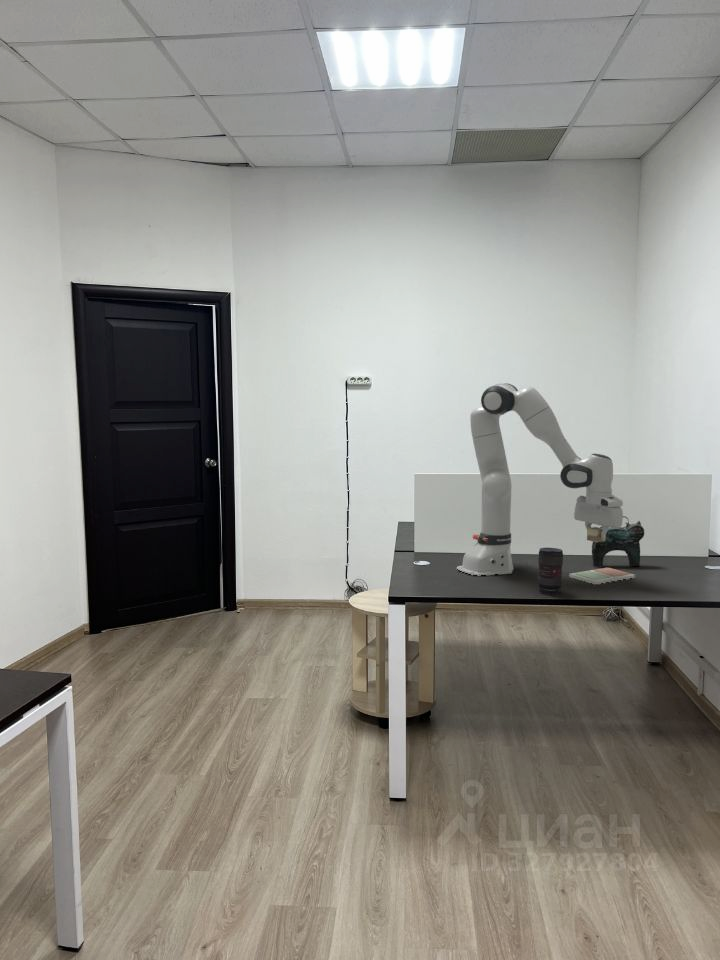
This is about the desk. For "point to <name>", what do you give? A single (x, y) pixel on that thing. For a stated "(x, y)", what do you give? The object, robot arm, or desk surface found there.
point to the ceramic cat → (620, 543)
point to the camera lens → (550, 570)
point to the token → (594, 534)
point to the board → (601, 575)
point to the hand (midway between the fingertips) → (596, 536)
